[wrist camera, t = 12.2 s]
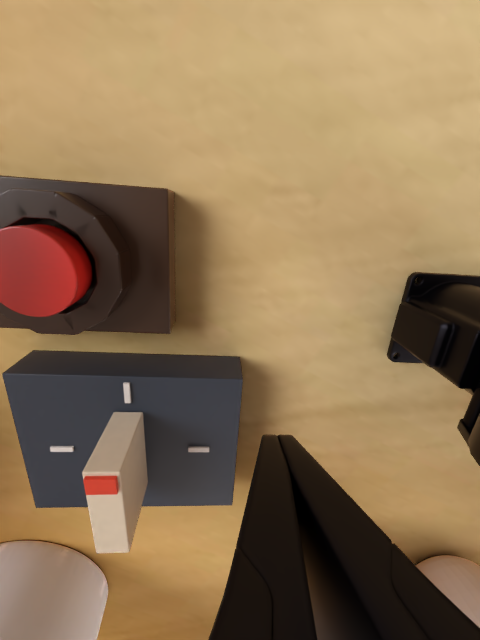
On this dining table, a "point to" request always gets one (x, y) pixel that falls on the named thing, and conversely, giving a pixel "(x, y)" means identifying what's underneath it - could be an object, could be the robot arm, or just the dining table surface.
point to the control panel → (128, 396)
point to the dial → (117, 482)
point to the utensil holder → (49, 593)
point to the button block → (103, 252)
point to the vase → (456, 582)
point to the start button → (42, 269)
